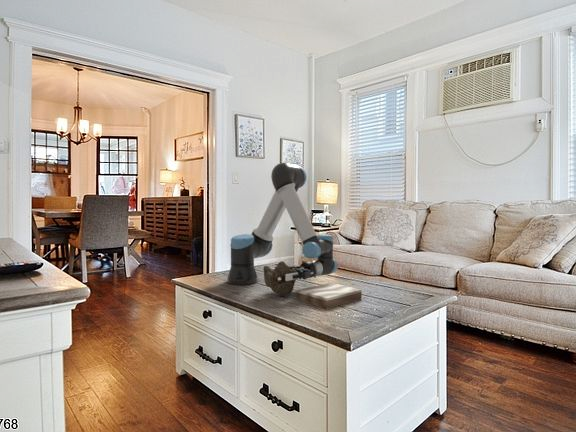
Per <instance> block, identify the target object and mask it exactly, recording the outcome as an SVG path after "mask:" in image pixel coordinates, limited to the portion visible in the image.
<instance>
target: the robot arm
mask: <svg viewBox="0 0 576 432" xmlns="http://www.w3.org/2000/svg"><path fill="white" fill-rule="evenodd" d="M271 182H272V186H273V189H274V193H273V195H272V197H271V200H270V202H269V203H268V206H267V208H266V210H265V211H264V214H263V216H262V218H261V220H260V222H259V224H258V226H257V227H256V228H253V230H252V232H251V234H249V233H248V234H247V233H246V234H238V235H235V236H232V237H231V239H230V268H229V272H228V273H227V274H228V275H227V281H226V283H228V284H231V285H237V286H242V285H243V286H244V285H252V284H256V283H258V275H257V271H256V269H255V259H258V258H263V257H266V256H267V255H269V254H270V253H271V251H272V250H273V240H274V236H273V235H274V232H275V230H276V228H277V226H278V224H279V222H280V220H281V218H282V216H283V213H284V212H285V210H286V211H287V213H288V214H289V218H290V219H291V221H292V224H293V226H294V228H295V230H296V232H297V234H298V237H299V239H300V241H301V243H302V245H303V246H302V249H301V250H302V254H303V256H304V257H306V258H307V259H314V260H309V261H304V262H302V263H301V264H300V265H296V266H294V265H288V266H289V268H290V269H291V270H292V269H294V270H296V271H297V272H296V273H290V274H285V281H290V280H295V279H296V280H304V281H305V280H307V279H310V278H314V279H315V278H317V277H320V276H326V275H332V274H334V273H336V271H337V270H338V267H339V266H338V263H337V260H336V259H335V258H334V251H333V250H334V238H333V237H334V236H333V235H332V234H324V233H323V234H318V235H317V233H316V231H315V228H314V227H313V224H312V222H311V220H310V218H309V215H308V213H307V211H306V210H305V207H304V205H303V202H302V201H301V199H300V196H299V194H298V191H299V189H300V188H302V187H303V186H305V184H306V182H307V173H306V170H305V169H304V168H303V167H302V166H301V165H298V164H296V163H295V164H294V163H288V162H281V163H278V164H276V165H275V166H273V168H272V171H271ZM275 268H276V266H274V267H273V268H272V269H273V270H274V269H275Z"/></svg>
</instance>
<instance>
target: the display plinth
mask: <svg viewBox="0 0 576 432" xmlns="http://www.w3.org/2000/svg"><path fill="white" fill-rule="evenodd" d="M296 300H297V301H301V302H303V303H307V304H311V305H314V306H317V307H320V308H323V309H331V308H334V307H337V306H341V305H345V304H349V303H352V302H356V301H359V300H362V289H359V288H357V287H351V286H347V285H342V284H338V283H334V282H328V283H324V284H319V285H313V286H309V287H305V288H301V289H300V288H299V289H296Z"/></svg>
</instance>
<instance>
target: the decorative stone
mask: <svg viewBox="0 0 576 432" xmlns="http://www.w3.org/2000/svg"><path fill="white" fill-rule="evenodd" d="M289 266H290V265H287V264H286V263H285V261H283V260H282V261H279V262H278V263H277V265H276V266H275V267H276V268H275V269H274V270H273V268H271V267H270V266H268V265H264V266H263V269H262V270H263V278H264V283H265V285H266V287H269V288H270V289H271V292H273V293H276V294H277V295H279V296H281V297H285V298H286V297H288V296H290V294H291V293H292V292H293V290H294V287H295V283H296V282H297V279H295V280H290V281H285V274H290V273H296V272H297V271H296V270H294V269H292V270H291V269H290V268H289ZM279 278H280V279H279Z"/></svg>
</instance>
